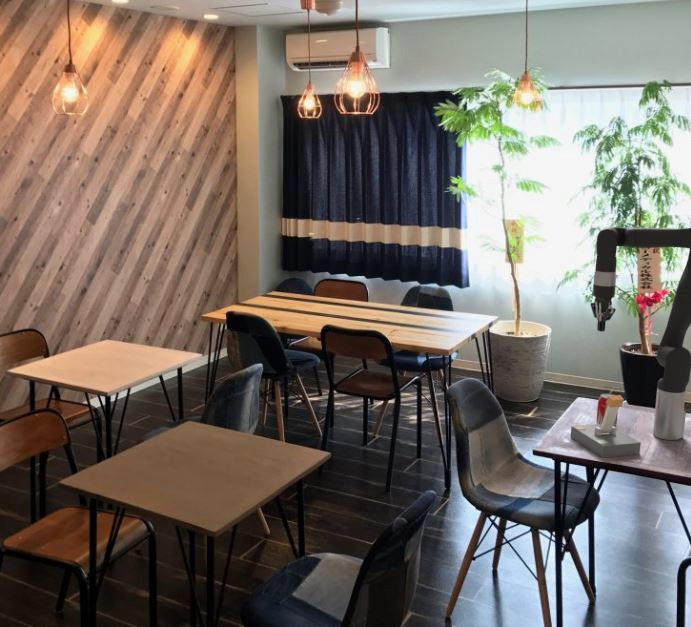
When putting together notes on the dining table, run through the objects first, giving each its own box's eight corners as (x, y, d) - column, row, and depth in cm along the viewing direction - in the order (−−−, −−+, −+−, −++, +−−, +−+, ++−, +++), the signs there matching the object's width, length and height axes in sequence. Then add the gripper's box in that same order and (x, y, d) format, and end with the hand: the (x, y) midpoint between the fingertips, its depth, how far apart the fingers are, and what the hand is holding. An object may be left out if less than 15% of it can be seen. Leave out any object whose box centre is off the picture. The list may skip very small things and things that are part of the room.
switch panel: (605, 433, 286) (607, 416, 285) (639, 454, 267) (641, 435, 266) (570, 436, 283) (571, 419, 281) (602, 457, 264) (603, 439, 262)
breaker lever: (608, 429, 276) (620, 395, 268) (612, 434, 274) (624, 399, 266) (597, 430, 275) (608, 395, 267) (600, 435, 273) (612, 400, 265)
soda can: (600, 423, 298) (603, 391, 295) (619, 427, 293) (622, 395, 291) (592, 427, 292) (595, 396, 290) (611, 432, 288) (614, 399, 286)
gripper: (624, 286, 281) (620, 334, 285) (603, 280, 294) (599, 326, 297) (605, 286, 280) (601, 335, 283) (585, 281, 292) (581, 327, 296)
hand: (600, 330), depth 290 cm, fingers closed
